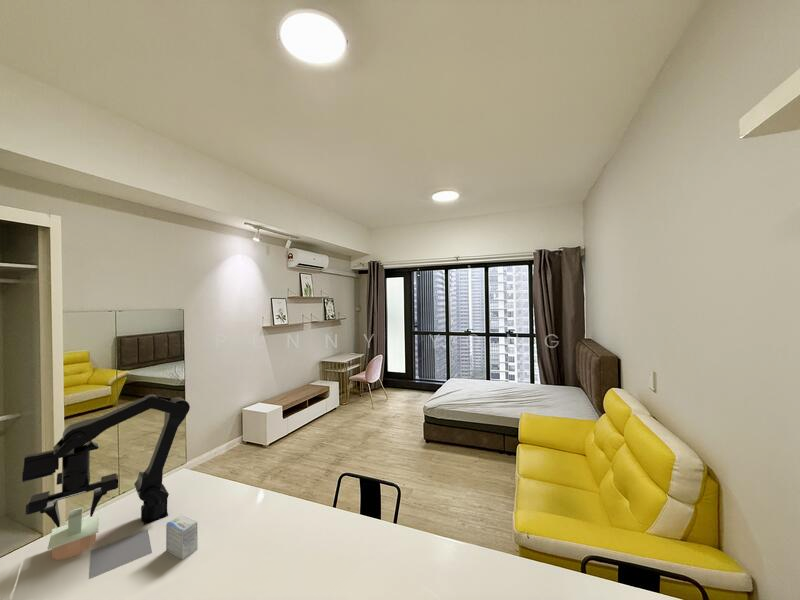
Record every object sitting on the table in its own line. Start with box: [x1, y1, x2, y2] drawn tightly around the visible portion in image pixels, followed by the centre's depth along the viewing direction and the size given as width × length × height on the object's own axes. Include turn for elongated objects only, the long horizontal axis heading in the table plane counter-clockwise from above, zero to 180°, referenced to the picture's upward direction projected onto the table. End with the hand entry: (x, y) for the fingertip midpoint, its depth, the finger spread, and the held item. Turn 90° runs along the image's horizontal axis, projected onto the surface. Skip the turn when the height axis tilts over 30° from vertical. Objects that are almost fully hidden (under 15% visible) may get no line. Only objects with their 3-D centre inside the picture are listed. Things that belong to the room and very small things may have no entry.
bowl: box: [51, 533, 97, 561], centre depth 94 cm, size 9×9×5 cm
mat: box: [88, 528, 153, 580], centre depth 92 cm, size 13×13×1 cm
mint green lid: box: [47, 506, 100, 551], centre depth 94 cm, size 10×10×6 cm
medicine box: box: [165, 514, 199, 560], centre depth 93 cm, size 8×4×9 cm, turn 65°
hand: (75, 521), depth 94 cm, fingers open, 6 cm apart
